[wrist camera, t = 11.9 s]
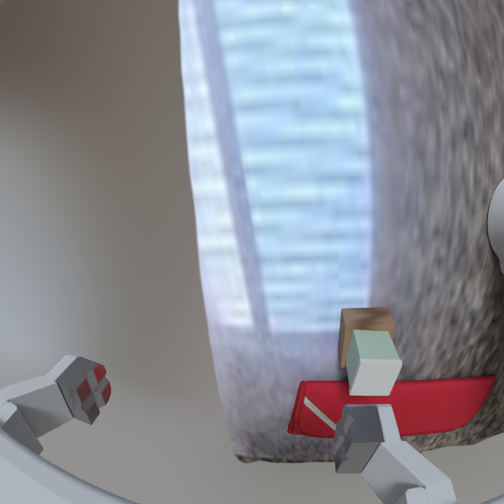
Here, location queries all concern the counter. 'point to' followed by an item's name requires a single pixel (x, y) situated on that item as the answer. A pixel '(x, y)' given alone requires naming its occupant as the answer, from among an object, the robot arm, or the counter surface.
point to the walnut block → (362, 325)
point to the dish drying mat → (393, 405)
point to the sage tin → (372, 363)
